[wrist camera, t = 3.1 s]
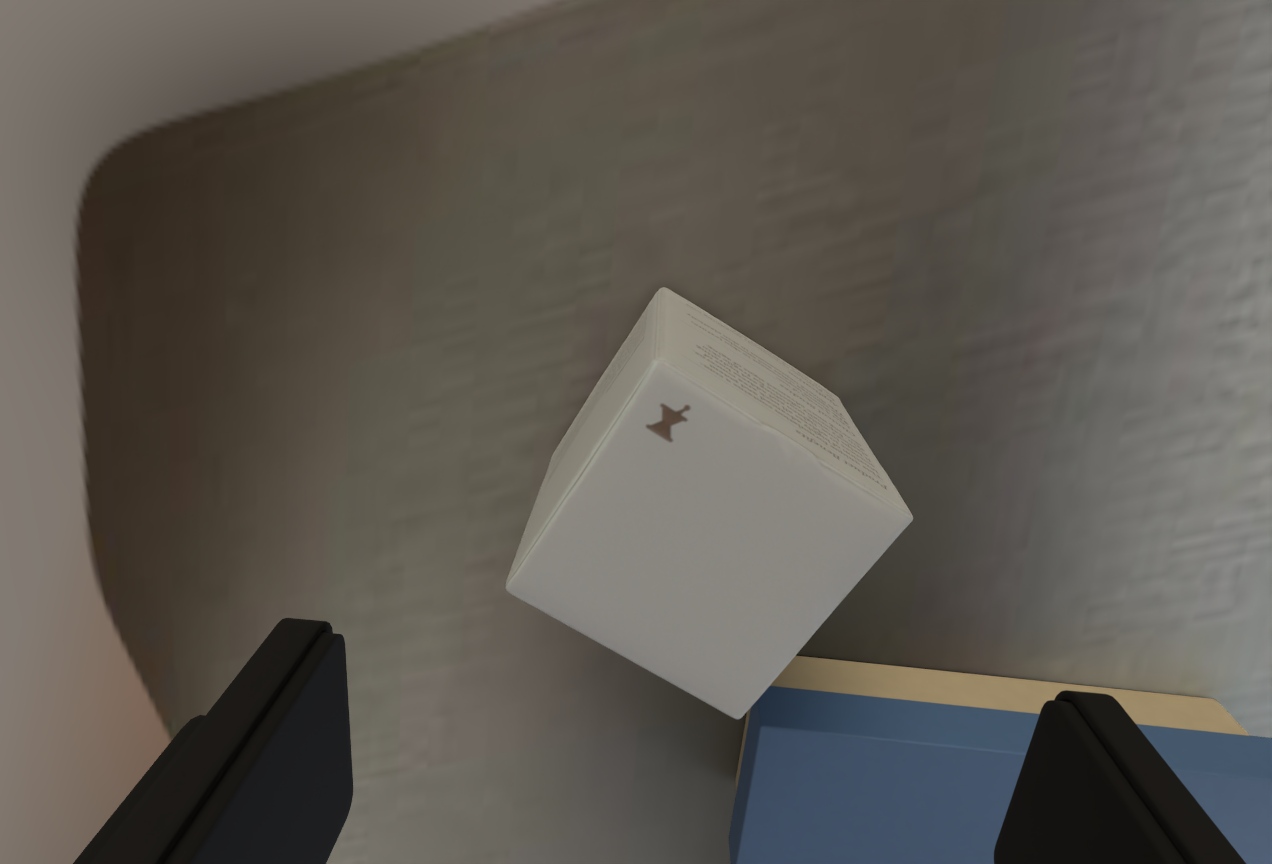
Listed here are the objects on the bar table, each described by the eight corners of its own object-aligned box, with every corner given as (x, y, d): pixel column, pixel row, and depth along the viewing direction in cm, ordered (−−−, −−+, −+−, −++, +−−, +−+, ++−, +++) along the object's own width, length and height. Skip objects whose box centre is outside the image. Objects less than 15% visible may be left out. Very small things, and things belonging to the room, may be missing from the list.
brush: (1228, 691, 25) (1321, 785, 21) (1165, 835, 27) (1241, 943, 23) (749, 642, 25) (760, 726, 21) (724, 788, 27) (731, 887, 23)
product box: (547, 454, 23) (492, 590, 16) (662, 278, 21) (655, 347, 14) (721, 558, 24) (739, 730, 17) (847, 399, 22) (924, 519, 15)
